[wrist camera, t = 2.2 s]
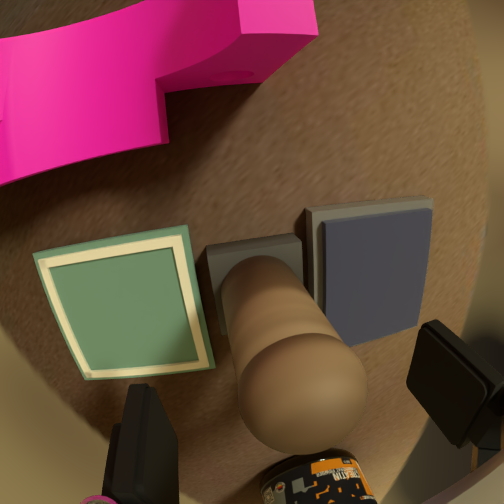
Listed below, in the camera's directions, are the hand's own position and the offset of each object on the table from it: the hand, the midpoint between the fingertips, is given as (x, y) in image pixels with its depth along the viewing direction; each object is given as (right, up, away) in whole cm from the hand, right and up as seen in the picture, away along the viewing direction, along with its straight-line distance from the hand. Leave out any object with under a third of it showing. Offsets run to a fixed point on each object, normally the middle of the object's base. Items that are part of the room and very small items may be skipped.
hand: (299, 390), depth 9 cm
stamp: (-1, +3, +7) cm, 8 cm away
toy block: (-9, +12, +3) cm, 15 cm away
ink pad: (+6, +3, +8) cm, 10 cm away
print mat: (-9, +1, +7) cm, 11 cm away
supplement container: (+4, -18, +16) cm, 25 cm away
